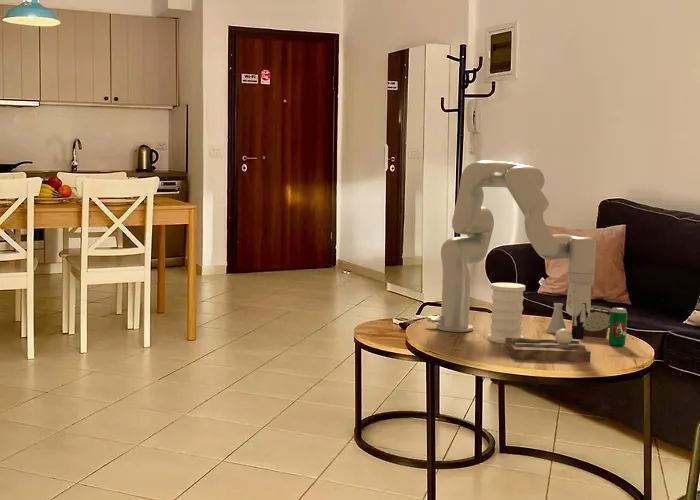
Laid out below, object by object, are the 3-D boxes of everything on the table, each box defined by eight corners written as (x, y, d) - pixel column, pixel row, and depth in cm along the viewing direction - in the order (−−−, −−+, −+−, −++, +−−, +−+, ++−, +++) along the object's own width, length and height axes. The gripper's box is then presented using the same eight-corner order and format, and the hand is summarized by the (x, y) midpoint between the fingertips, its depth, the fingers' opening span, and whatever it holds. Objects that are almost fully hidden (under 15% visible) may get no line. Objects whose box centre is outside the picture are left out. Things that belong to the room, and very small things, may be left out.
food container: (611, 336, 272) (613, 307, 271) (611, 339, 266) (613, 309, 265) (573, 332, 276) (575, 303, 275) (572, 336, 270) (574, 306, 269)
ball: (560, 349, 239) (555, 334, 238) (556, 345, 244) (551, 330, 243) (576, 343, 239) (571, 328, 238) (572, 339, 244) (567, 324, 243)
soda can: (613, 343, 261) (616, 306, 260) (628, 346, 257) (630, 309, 256) (605, 345, 257) (607, 308, 256) (619, 348, 254) (622, 310, 252)
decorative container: (501, 344, 253) (504, 288, 251) (480, 337, 264) (483, 283, 262) (531, 342, 258) (534, 287, 256) (509, 335, 269) (512, 281, 267)
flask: (565, 331, 279) (567, 302, 278) (569, 335, 272) (570, 306, 270) (544, 330, 279) (546, 301, 278) (547, 334, 272) (549, 305, 271)
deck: (514, 359, 234) (514, 346, 234) (505, 347, 250) (505, 335, 250) (590, 361, 234) (590, 349, 233) (576, 349, 250) (576, 337, 249)
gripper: (561, 274, 247) (558, 333, 249) (574, 281, 232) (571, 344, 234) (586, 275, 247) (583, 334, 248) (600, 282, 232) (597, 344, 234)
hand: (577, 338), depth 241 cm, fingers closed
